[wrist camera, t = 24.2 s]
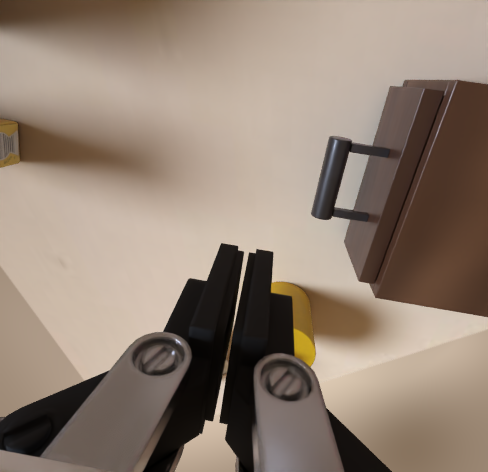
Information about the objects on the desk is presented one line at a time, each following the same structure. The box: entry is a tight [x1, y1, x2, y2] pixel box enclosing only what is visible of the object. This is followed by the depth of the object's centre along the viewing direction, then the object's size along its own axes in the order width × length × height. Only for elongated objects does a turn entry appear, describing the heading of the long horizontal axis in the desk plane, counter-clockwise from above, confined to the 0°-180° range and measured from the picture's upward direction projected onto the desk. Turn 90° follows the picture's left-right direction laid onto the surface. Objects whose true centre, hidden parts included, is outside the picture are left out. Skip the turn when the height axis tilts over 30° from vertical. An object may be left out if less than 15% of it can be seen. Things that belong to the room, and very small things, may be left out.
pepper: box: [271, 282, 316, 367], centre depth 33 cm, size 6×6×9 cm
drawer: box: [311, 86, 444, 284], centre depth 25 cm, size 20×14×7 cm
